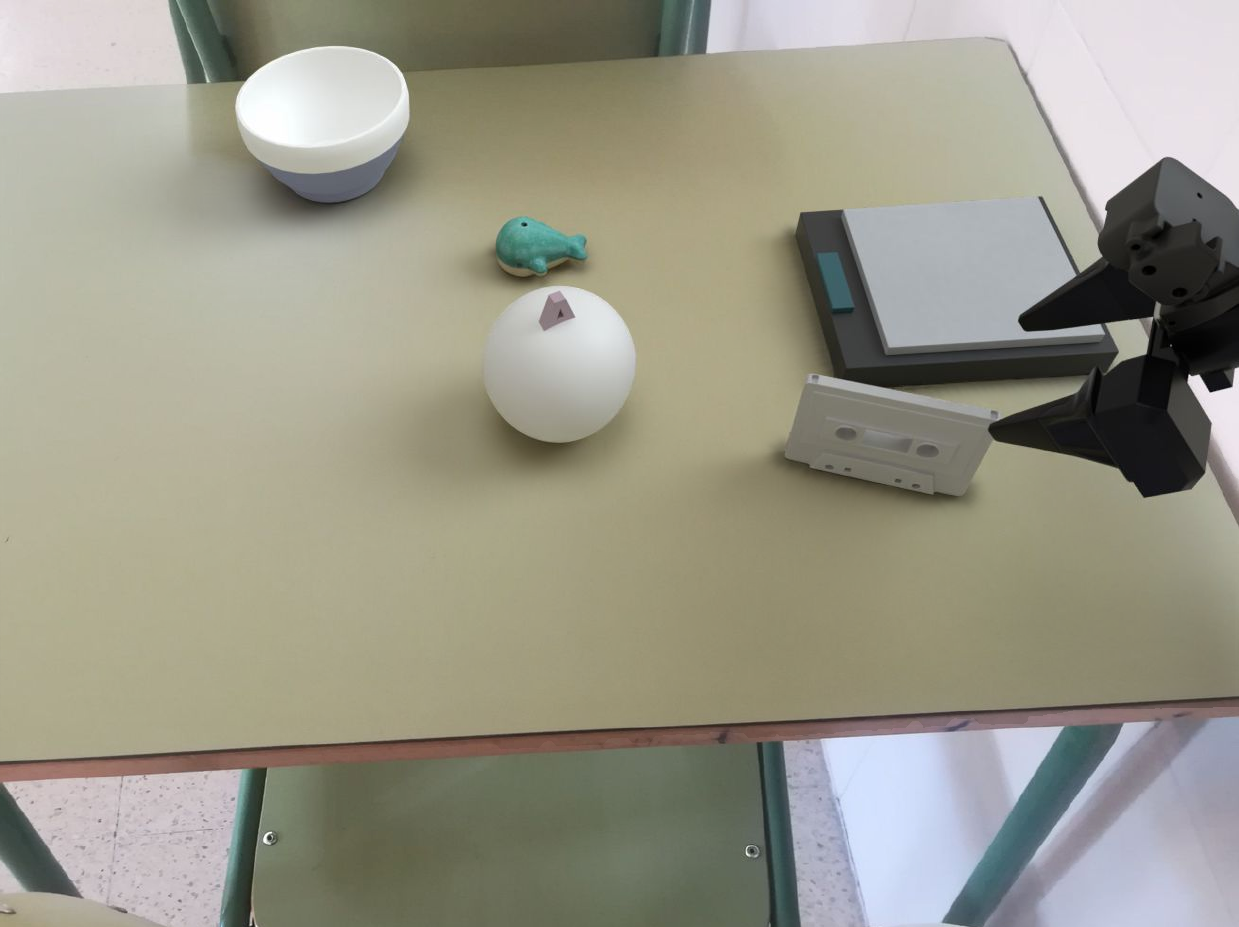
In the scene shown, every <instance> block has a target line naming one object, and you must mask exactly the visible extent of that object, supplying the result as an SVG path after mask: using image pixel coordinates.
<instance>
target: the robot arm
mask: <svg viewBox="0 0 1239 927" xmlns="http://www.w3.org/2000/svg"><path fill="white" fill-rule="evenodd" d="M1104 206H1105V208H1104V211H1106V214H1105V220H1104V222H1103V228H1102V230H1101V231H1100V232H1099V234H1098V237H1097V248H1098V251H1099V253H1100V255H1101V257H1100V258H1098V259H1097V260H1095V262H1093V263H1092V264H1090V265H1089V266H1088V267H1087V268H1085V269H1084V270H1082V271H1080V274H1078V275H1077V276H1075V277H1074V278H1073V279H1071V280H1070V281H1068V282H1067V283H1065V284H1064V285H1062V286H1061V287H1059V288H1058V289H1057V290H1055V291H1054V292H1052V293H1051V294H1049V295H1048V296H1046V297H1045V298H1044V299H1042V300H1041V301H1039V302H1038V303H1036V304H1035V305H1033V306H1032V307H1030V308H1029V309H1028V310H1026V311H1025V312H1023V313H1022V314H1020V316H1019V318H1018V323H1019V324H1020V326H1021V327H1022V329H1023V330H1024V331H1026V332H1033V331H1050V330H1059V329H1067V328H1074V327H1081V326H1089V325H1096V324H1104V323H1105V324H1110V323H1111V324H1112V323H1118V322H1126V321H1134V320H1141V319H1149V318H1152V321H1151V327H1150V332H1149V337H1148V343H1147V347H1146V353H1144V354H1141V355H1138V356H1134V357H1131V358H1127V359H1124V360H1121V361H1120V362H1119V363H1117V364H1116V365H1115V366H1113V368H1111V369H1110V370H1108V371H1107V372H1106V373H1102V371H1101V370H1100V368H1099V367H1098V366H1096V367H1094V368H1093V370H1092V371H1091V373H1090V374H1088V376H1087V377H1086V379H1085V380H1084V382H1083V383H1082V384H1081V387H1080V388H1079V390H1077V391H1076V392H1074V393H1072V394H1070V395H1069V394H1068V395H1066V396H1062V397H1060V398H1058V399H1054V400H1051V401H1049V402H1045V403H1042V404H1038V405H1036V406H1033V407H1030V408H1027V409H1024V410H1021V411H1018V412H1015V413H1012V414H1009V415H1007V416H1005V417H1002V418H1001V419H1000V420H998V421H996V422H993V423H991V424H990V425H989V427H988V432H989V433H990V435H991V436H992V437H993V441H995V442H998V443H1002V444H1008V445H1013V446H1019V447H1023V448H1029V449H1035V450H1039V451H1044V452H1051V453H1055V454H1061V455H1065V456H1071V457H1075V458H1079V459H1083V460H1087V461H1090V462H1094V463H1097V464H1100V465H1104V466H1108V467H1111V468H1114V469H1118V470H1119V471H1120V474H1121V475H1122V476H1123V478H1124V479H1125V481H1126V482H1127V483H1132V484H1134V486H1135V487H1136V489H1137V490H1138V492H1139V494H1140V495H1141V496H1142V498H1143V499H1146V498H1153V497H1159V496H1164V495H1168V494H1174V493H1179V492H1185V491H1186V492H1187V491H1191V490H1192V489H1193V488H1194V487H1195V486H1196V485H1197V484H1198V482H1199V481H1200V480H1201V479H1202V478H1203V476H1204V475H1205V474H1206V470H1207V463H1208V454H1209V449H1210V448H1209V447H1210V439H1211V433H1212V426H1213V423H1212V421H1211V419H1210V418H1209V416H1208V414H1207V413H1206V411H1205V410H1204V408H1203V406H1202V404H1201V403H1200V401H1199V399H1198V397H1197V396H1196V394H1195V392H1194V391H1193V389H1192V388H1191V386H1190V384H1189V377H1190V376H1191V377H1195V376H1199V377H1200V379H1201V380H1202V382H1203V384H1204V385H1205V387H1206V390H1208V392H1209V393H1216V392H1219V391H1223V390H1227V389H1231V388H1233V386H1234V379H1235V371H1236V369H1238V368H1239V208H1237V206H1236V205H1235V204H1234V202H1233V201H1232V200H1231V198H1229V197H1228V195H1227V194H1224V193H1223V192H1222V191H1220V190H1219V189H1218V188H1216V187H1215V186H1214V185H1212V184H1211V183H1210V182H1208V181H1207V180H1205V179H1204V178H1203V177H1201V176H1200V175H1199V174H1197V173H1196V172H1195V171H1193V170H1192V169H1191V168H1189V166H1186V165H1185V164H1184V163H1183V162H1181V161H1179V160H1178V159H1176V158H1175V157H1172V156H1165V157H1163V158H1161V159H1160V160H1158V161H1157V162H1156V163H1155V164H1153V165H1152V166H1151V167H1150V168H1148V169H1146V170H1145V171H1144V172H1143V173H1142V174H1140V175H1139V176H1138V177H1136V178H1135V179H1133V181H1131V182H1130V183H1129V184H1127V185H1126V186H1125V187H1123V188H1122V189H1121V190H1119V191H1118V192H1117V193H1116V194H1115V195H1113V196H1112V197H1110V198H1109V199H1108V200H1107V201H1106V203H1105V205H1104Z"/></svg>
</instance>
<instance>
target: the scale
mask: <svg viewBox="0 0 1239 927" xmlns="http://www.w3.org/2000/svg"><path fill="white" fill-rule="evenodd" d="M794 235H795V238H796V241H797V245H798V248H799V251H800V252H799V253H800V256H801V259H802V262H803V263H802V264H803V265H804V269H805V273H806V277H807V280H808V283H809V287H810V290H811V294H812V297H813V301H814V304H815V309H816V311H817V315H818V319H819V322H820V325H821V329H822V333H823V336H824V339H825V343H826V348H827V350H828V354H829V357H830V361H831V364H832V366H833V368H832V369H833V371H834V374H835V378H837V379H842V380H847V381H852V382H857V383H862V384H867V385H872V386H877V387H882V388H885V387H897V386H898V387H899V386H913V385H914V386H915V385H930V384H932V385H933V384H947V383H949V384H950V383H966V382H982V381H998V380H1016V379H1017V380H1018V379H1029V378H1030V379H1031V378H1033V379H1034V378H1047V377H1049V378H1050V377H1063V376H1080V375H1081V376H1083V375H1089V374H1090V373H1091V371H1092V370H1093V368H1094V367H1096V366H1098V367H1099V368H1100V370H1101V371H1102V373H1103V374H1106V373H1108V372H1109V369H1110V368H1111V366H1112V365H1113V362H1114V361H1115V360H1116V358H1117V356H1118V355H1119V353H1120V350H1119V349H1118V346H1117V343H1116V342H1115V340H1114V338H1113V336H1112V334H1111V332H1110V330H1109V328H1108V325H1107V323H1104V324H1096V325H1089V326H1081V327H1074V328H1067V329H1059V330H1050V331H1033V332H1026V331H1024V330H1023V329H1022V327H1021V326H1020V324H1019V323H1018V318H1019V316H1020V314H1022V313H1023V312H1025V311H1026V310H1028V309H1029V308H1030V307H1032V306H1033V305H1035V304H1036V303H1038V302H1039V301H1041V300H1042V299H1044V298H1045V297H1046V296H1048V295H1049V294H1051V293H1052V292H1054V291H1055V290H1057V289H1058V288H1059V287H1061V286H1062V285H1064V284H1065V283H1067V282H1068V281H1070V280H1071V279H1073V278H1074V277H1075V276H1077V275H1078V274H1080V273H1081V271H1080V270H1079V267H1078V265H1077V262H1076V261H1075V260H1074V257H1073V255H1072V253H1071V251H1070V249H1069V247H1068V245H1067V243H1066V241H1065V239H1064V237H1063V234H1062V233H1061V230H1060V229H1059V227H1058V225H1057V222H1056V220H1055V219H1054V217H1053V215H1052V212H1051V211H1050V209H1049V207H1048V205H1047V203H1046V201H1045V198H1044V197H1043V196H1042V195H1040V196H1024V197H1023V196H1022V197H1010V198H1009V197H1007V198H994V199H993V198H992V199H980V200H979V199H977V200H964V201H947V202H933V203H917V204H904V205H887V206H873V207H872V206H871V207H858V208H857V207H856V208H844V209H829V210H816V211H815V210H814V211H813V210H812V211H801V212H800V213H799V217H798V221H797V225H796V229H795V233H794Z"/></svg>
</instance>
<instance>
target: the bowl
mask: <svg viewBox="0 0 1239 927" xmlns="http://www.w3.org/2000/svg"><path fill="white" fill-rule="evenodd" d="M234 104H235V105H234V110H235V117H236V122H237V127H238V131H239V133H240V136H241V139H242V141H243V143H244V145H245V146H246V148H247V151H249V153H250V154H251V155H252V156H253V157H254V158H255V159H256V160H257V162H258V163H259V164H260V165H262V167H263V168H264V169H266V170H267V171H269V173H270V174H271V175H272V176H273V177H274V178H275V179H276V180H277V181H279V182H281V183H282V184H283V185H285V186H287V187H289V188H290V189H291V190H292V191H293V192H294V193H296V194H297V195H298V196H300V197H301V198H303V199H306V200H309V201H312V202H317V203H327V204H328V203H329V204H331V203H341V202H346V201H350V200H353V199H355V198H359V197H361V196H363V195H365V194H367V193H368V192H369V191H371V190H372V189H374V188H375V187H376V186H378V184H379V183H380V181H381V180H382V178H383V176H384V174H385V172H386V170H387V169H388V168H389V166H390V165H391V163H392V162H393V160H394V158H395V157H396V155H397V152H398V149H399V146H400V145H401V143H402V142H403V139H404V136H405V133H406V129H407V128H408V124H409V122H410V94H409V89H408V85H407V82H406V80H405V76H404V74H403V72H402V71H401V69H399V67H398V66H397V65H396V64H394V63H393V62H392V61H391V60H390V59H388V58H387V57H385V56H383V55H381V54H378V53H377V52H374V51H371V50H367V49H364V48H359V47H352V46H346V45H345V46H341V45H328V46H326V45H325V46H317V47H311V48H305V49H299V50H297V51H294V52H291V53H288V54H284V55H282V56H279V57H278V58H276V59H273V60H271V61H269V62H268V63H266V64H264V65H263V66H261V67H260V68H258V69H257V70H256V71H255V72H253V73H252V74H251V75H250V76H249V77H248V78H247V79H246V81H245V82H244V83H243V84H242V86H241V87H240V89H239V91H238V93H237V95H236V98H235V103H234Z"/></svg>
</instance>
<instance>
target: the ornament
mask: <svg viewBox="0 0 1239 927" xmlns="http://www.w3.org/2000/svg"><path fill="white" fill-rule="evenodd" d="M482 352H483V353H482V359H481V371H482V372H481V373H482V379H483V383H484V388H485V390H486V392H487V396H488V398H489V399H490V401H491V403H492V405H493V406H494V408H495V410H496V411H497V412H498V413H499V414H500V416H501V417H502V418H503V420H505V421H506V422H507V423H508V425H510V426H511V427H513V428H514V429H515V430H517V431H518V432H520V433H522V434H524V435H526V436H527V437H529V438H532V439H535V440H537V441H542V442H546V443H559V444H560V443H570V442H575V441H579V440H582V439H585V438H588V437H589V436H591V435H593V434H595V433H597V432H598V431H601V429H603V428H604V427H605V426H607V425H608V423H610V422H611V421H612V420H613V419H614V418H615V417H616V415H617V414H618V413H619V411H620V410H621V409H622V407H623V406H624V404H625V402H626V401H627V399H628V397H629V394H630V392H631V390H632V387H633V384H634V381H635V376H636V370H637V355H636V348H635V342H634V340H633V336H632V334H631V332H630V330H629V328H628V326H627V324H626V321H624V319H623V317H621V315H620V314H619V313H618V311H617V310H616V309H615V308H614V307H613V306H612V305H611V304H610V303H608V301H606V300H604V298H602V297H601V296H600V295H599V296H598V295H597V294H595V293H593V292H591V291H589V290H586V289H583V288H580V287H579V288H578V287H576V286H569V285H551V286H544V287H541V288H537V289H534V290H531V291H529V292H527V293H524V294H523V295H521V296H520V297H518V298H517V299H515V300H514V301H512V302H511V303H510V304H509V305H508V306H507V307H506V308H505V309H503V311H502V312H501V314H500V315H499V316H498V318H497V319H496V320H495V321H494V324H493V325H492V327H491V329H490V331H489V332H488V336H487V338H486V340H485V344H484V347H483V351H482Z"/></svg>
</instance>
